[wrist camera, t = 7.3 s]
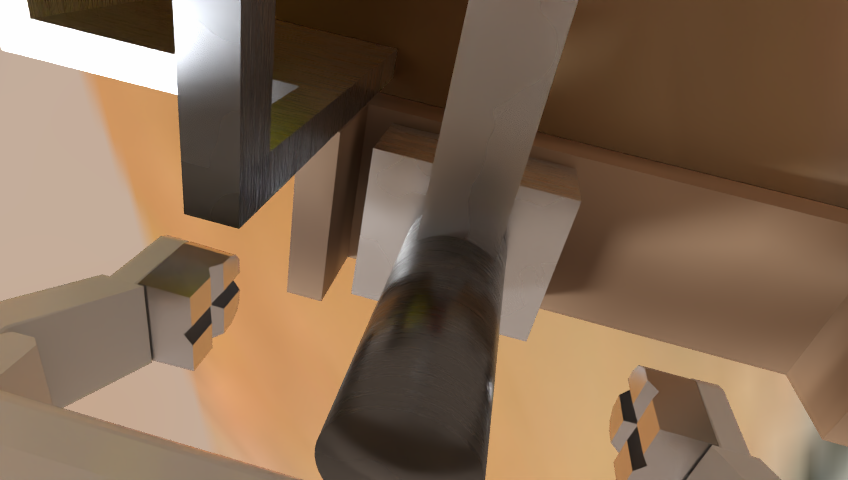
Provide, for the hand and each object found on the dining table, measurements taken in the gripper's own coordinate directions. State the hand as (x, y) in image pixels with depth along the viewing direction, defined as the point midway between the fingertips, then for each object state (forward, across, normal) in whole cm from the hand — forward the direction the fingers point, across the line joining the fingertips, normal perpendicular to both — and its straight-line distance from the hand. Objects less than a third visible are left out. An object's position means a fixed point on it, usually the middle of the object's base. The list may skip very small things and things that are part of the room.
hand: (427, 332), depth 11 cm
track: (+7, -4, 0) cm, 8 cm away
